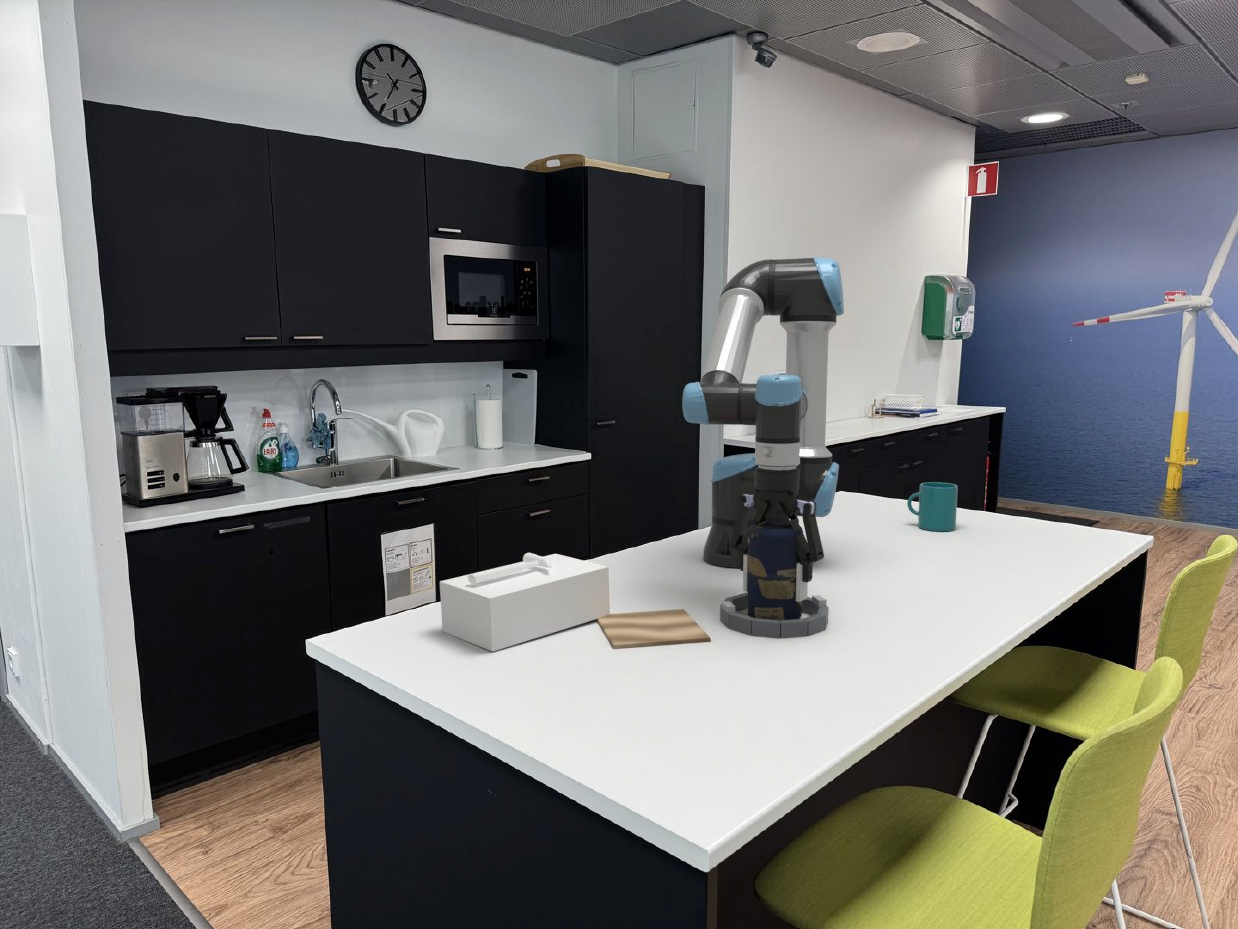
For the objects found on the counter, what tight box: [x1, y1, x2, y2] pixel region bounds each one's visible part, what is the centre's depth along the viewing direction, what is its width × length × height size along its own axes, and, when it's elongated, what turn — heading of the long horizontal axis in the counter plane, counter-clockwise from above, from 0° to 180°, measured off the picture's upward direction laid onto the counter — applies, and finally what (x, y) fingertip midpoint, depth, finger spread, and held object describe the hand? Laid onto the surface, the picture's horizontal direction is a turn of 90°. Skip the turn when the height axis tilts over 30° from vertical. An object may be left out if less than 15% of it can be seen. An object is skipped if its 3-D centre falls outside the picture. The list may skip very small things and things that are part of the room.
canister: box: [746, 520, 804, 620], centre depth 157 cm, size 10×10×18 cm
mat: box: [595, 608, 711, 649], centre depth 153 cm, size 16×16×1 cm
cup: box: [906, 481, 959, 533], centre depth 232 cm, size 9×12×11 cm
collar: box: [719, 592, 829, 639], centre depth 158 cm, size 18×18×4 cm
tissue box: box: [439, 552, 611, 652], centre depth 155 cm, size 14×25×11 cm, turn 133°
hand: (774, 594), depth 157 cm, fingers closed on canister, 9 cm apart
